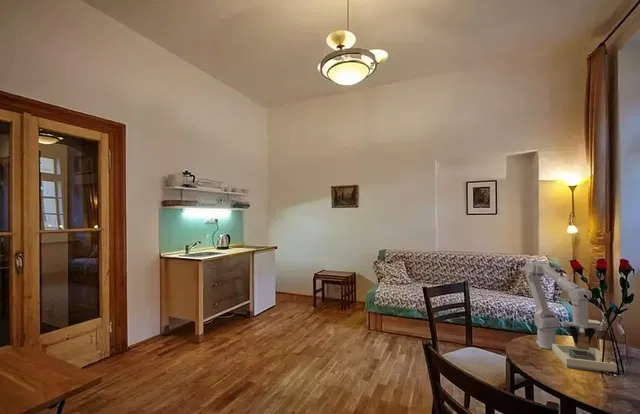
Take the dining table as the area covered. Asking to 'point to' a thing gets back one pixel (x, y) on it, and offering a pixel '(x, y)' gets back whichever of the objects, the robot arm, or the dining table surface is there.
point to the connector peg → (582, 341)
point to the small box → (594, 338)
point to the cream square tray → (582, 358)
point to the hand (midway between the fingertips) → (581, 343)
